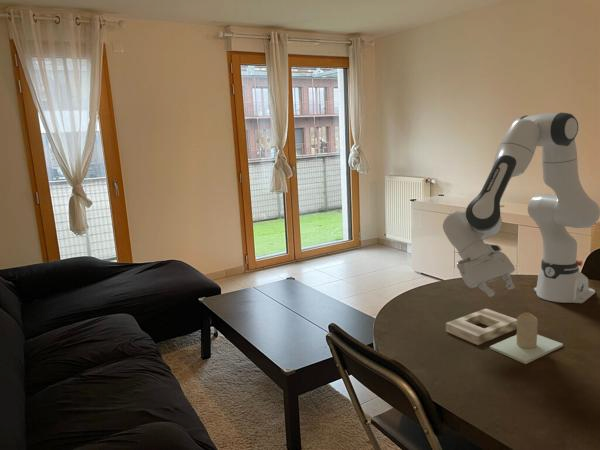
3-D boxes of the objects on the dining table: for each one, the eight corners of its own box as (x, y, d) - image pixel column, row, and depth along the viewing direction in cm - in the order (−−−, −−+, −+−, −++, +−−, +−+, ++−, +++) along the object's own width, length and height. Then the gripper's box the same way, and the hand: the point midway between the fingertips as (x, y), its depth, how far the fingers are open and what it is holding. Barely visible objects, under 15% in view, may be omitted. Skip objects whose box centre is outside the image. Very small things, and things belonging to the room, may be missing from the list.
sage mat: (526, 332, 151) (526, 330, 151) (562, 346, 141) (563, 343, 141) (489, 348, 142) (489, 346, 142) (525, 364, 132) (525, 361, 132)
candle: (538, 349, 138) (540, 317, 136) (519, 348, 139) (520, 317, 137) (533, 341, 143) (534, 310, 141) (514, 340, 145) (515, 310, 143)
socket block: (485, 316, 165) (485, 308, 165) (518, 328, 154) (518, 319, 154) (445, 331, 156) (445, 322, 155) (477, 345, 145) (477, 336, 144)
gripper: (460, 256, 145) (486, 294, 138) (502, 244, 155) (528, 279, 149) (449, 267, 149) (474, 304, 143) (490, 254, 159) (515, 289, 153)
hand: (502, 291), depth 146 cm, fingers open, 8 cm apart
